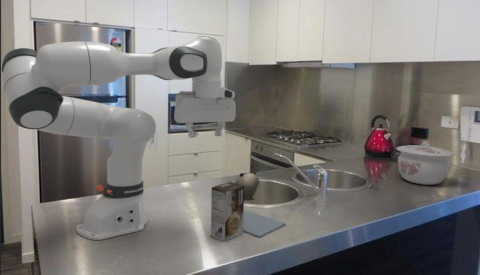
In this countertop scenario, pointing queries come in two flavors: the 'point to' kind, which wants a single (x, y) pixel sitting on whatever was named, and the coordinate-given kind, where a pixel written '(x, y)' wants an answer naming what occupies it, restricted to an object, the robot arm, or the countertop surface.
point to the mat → (259, 224)
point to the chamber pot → (424, 163)
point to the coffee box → (227, 211)
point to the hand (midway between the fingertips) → (205, 136)
